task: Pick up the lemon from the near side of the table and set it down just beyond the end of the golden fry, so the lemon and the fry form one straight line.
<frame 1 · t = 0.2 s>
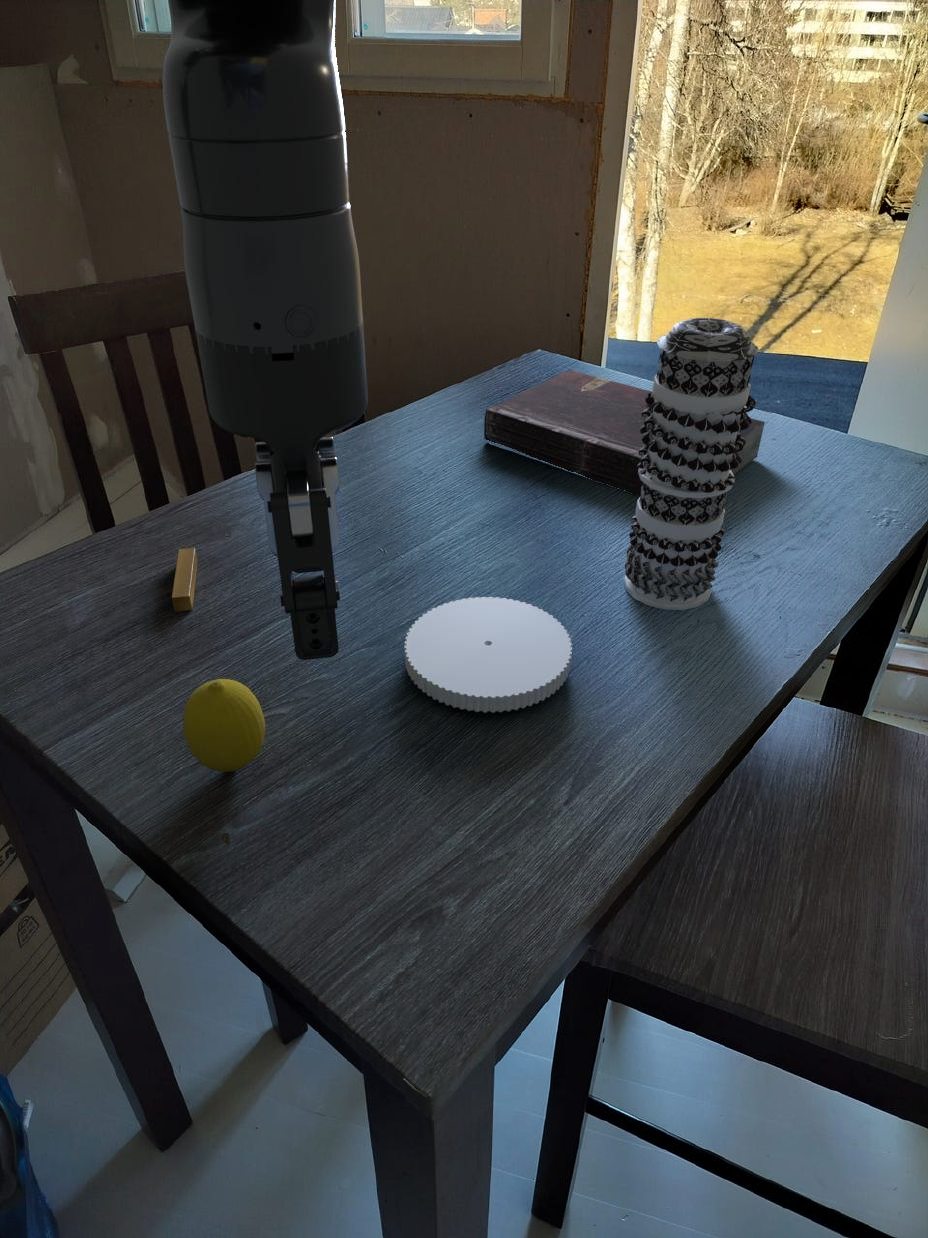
hand: (313, 609, 48), 18 cm above the table, tool pointing down, fingers open, 8 cm apart
hardback book: (617, 453, 109), on the table
lemon: (234, 768, 63), on the table
fry: (186, 585, 83), on the table
white gear wheel: (487, 668, 73), on the table
decorative candle: (667, 587, 83), on the table
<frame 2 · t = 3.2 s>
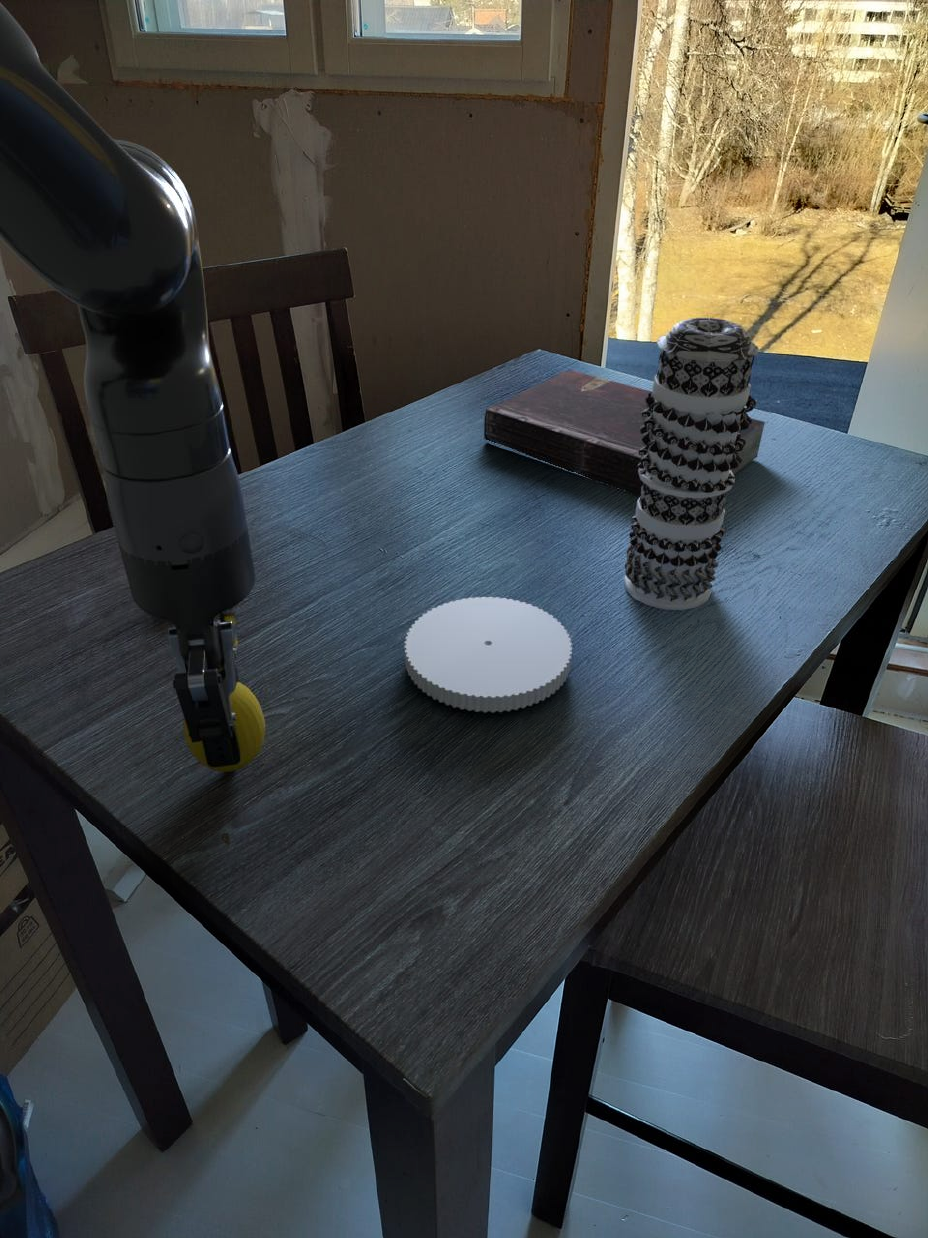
hand: (226, 731, 61), 4 cm above the table, tool pointing down, fingers closed on lemon, 5 cm apart
lemon: (234, 768, 63), on the table, touching gripper
everything else where it was.
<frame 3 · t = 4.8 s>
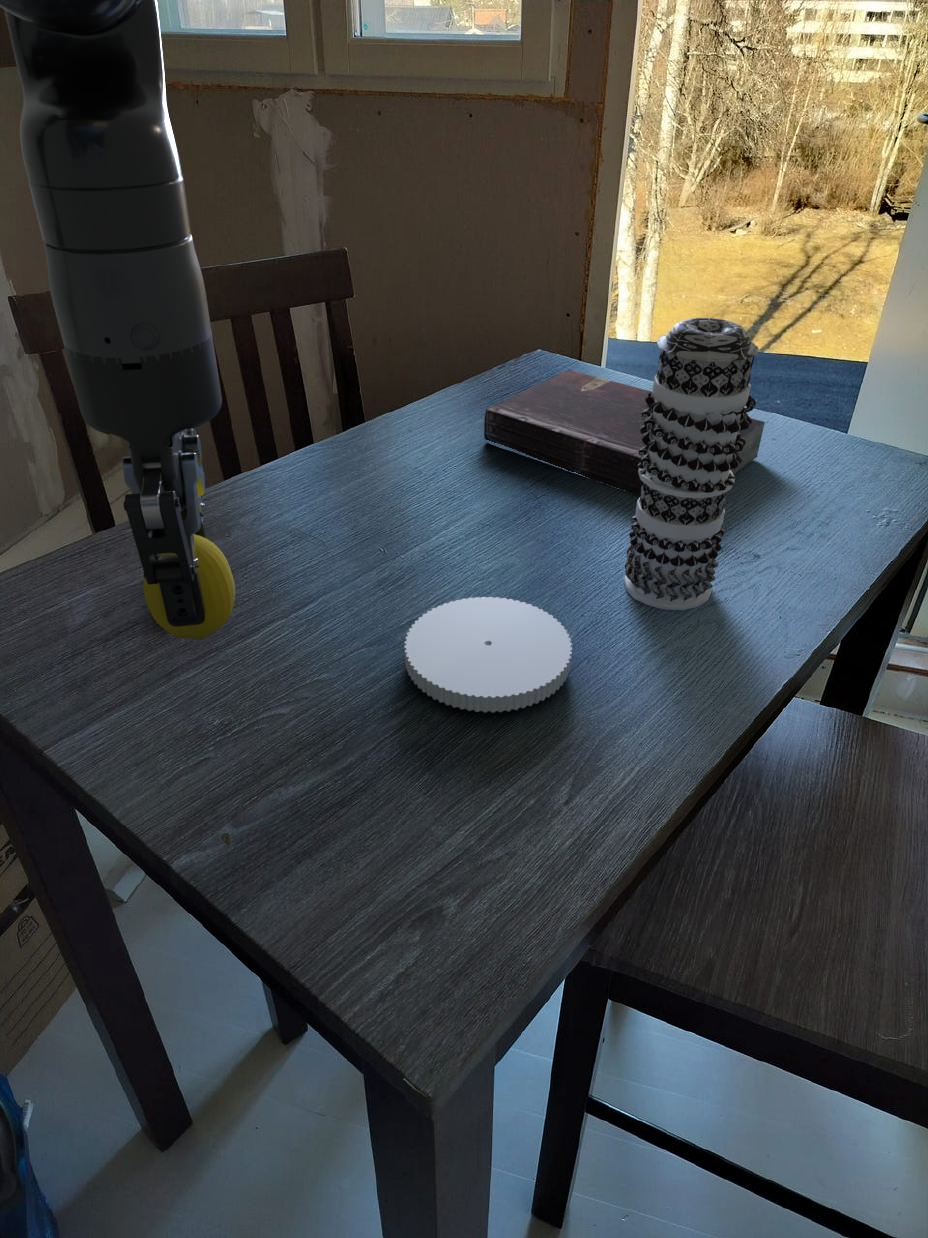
hand: (191, 594, 55), 15 cm above the table, tool pointing down, fingers closed on lemon, 5 cm apart
lemon: (200, 640, 57), point 11 cm above the table, touching gripper
everything else where it was.
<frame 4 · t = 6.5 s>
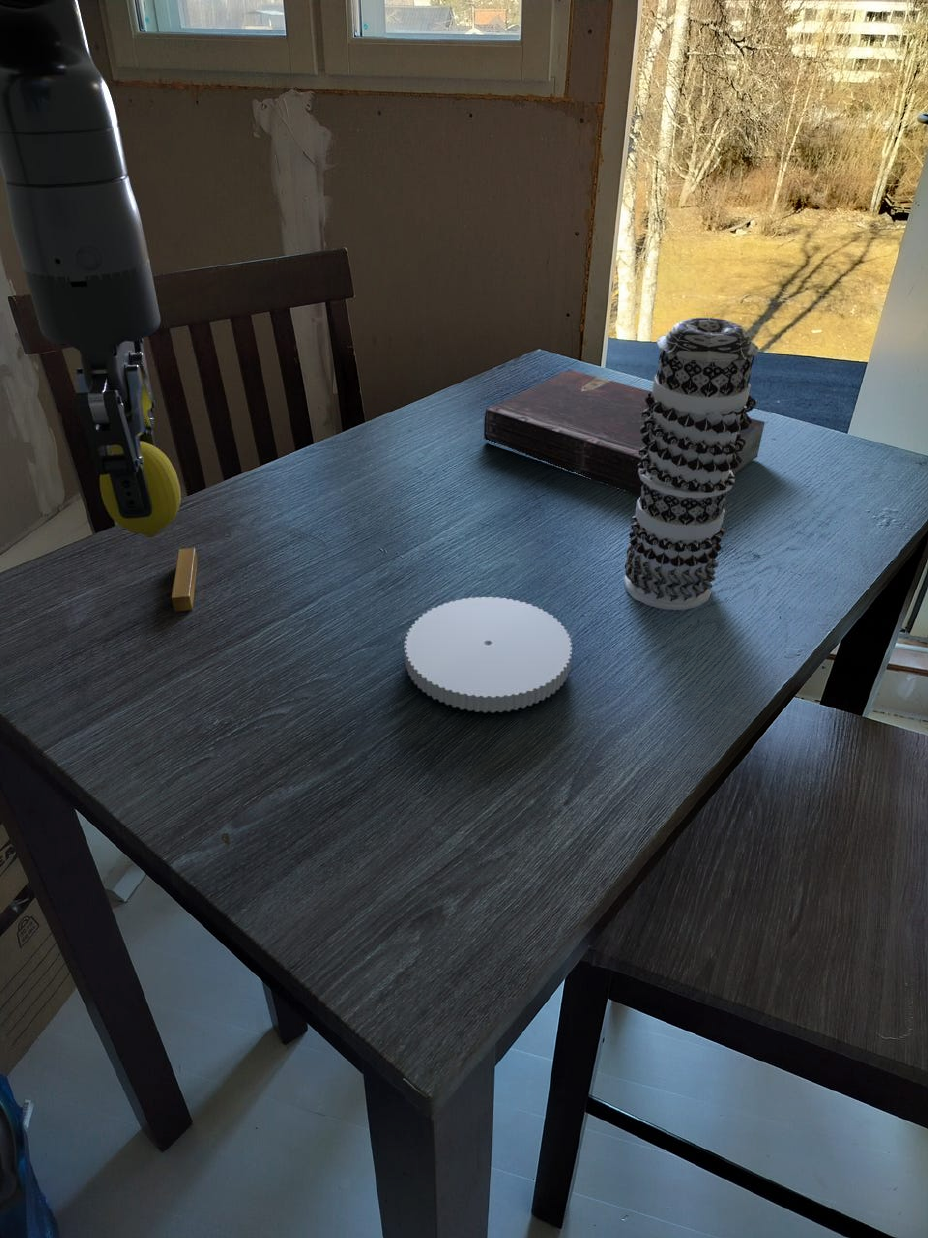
hand: (142, 495, 64), 16 cm above the table, tool pointing down, fingers closed on lemon, 5 cm apart
lemon: (152, 538, 66), point 12 cm above the table, touching gripper
everything else where it was.
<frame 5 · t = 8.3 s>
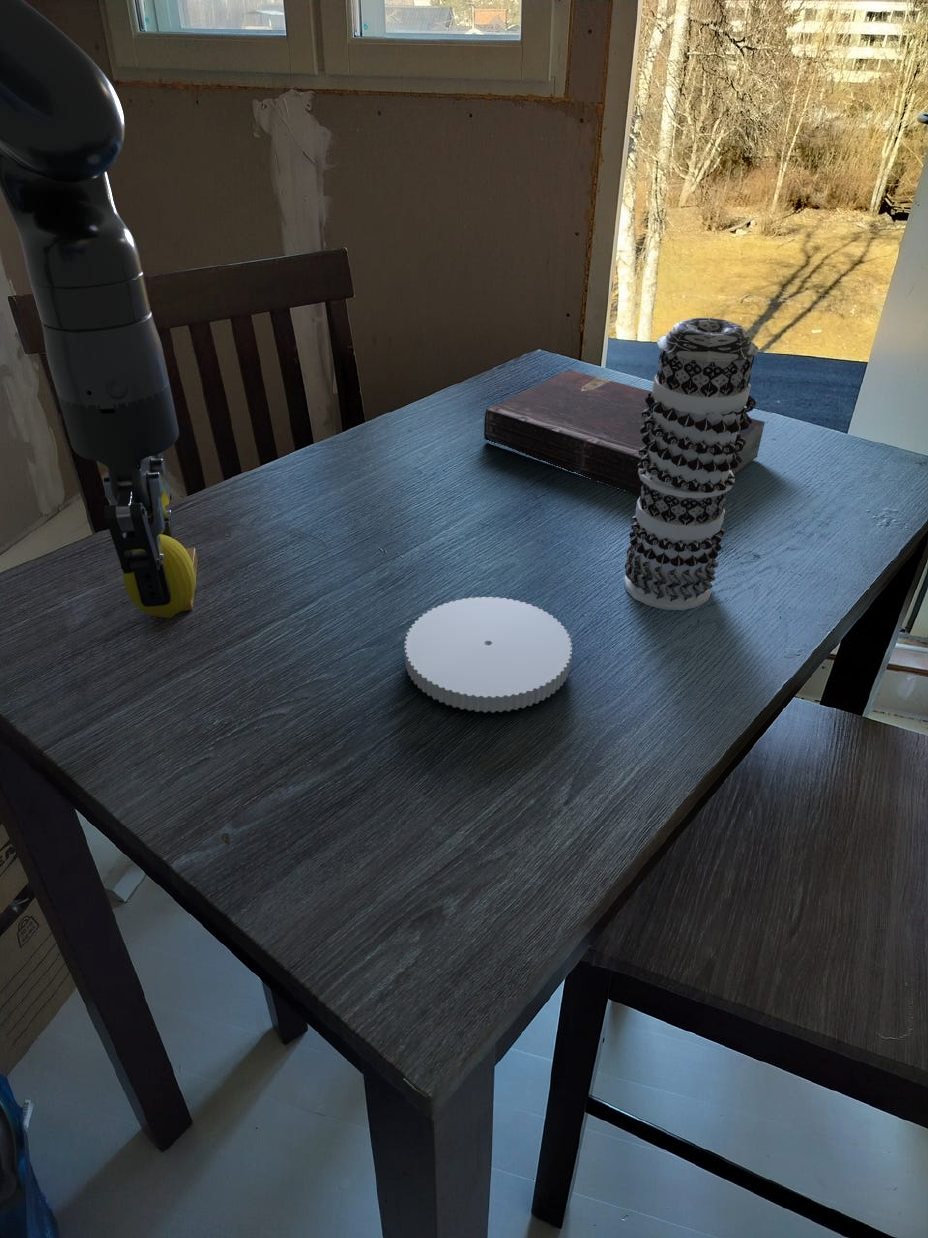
hand: (160, 582, 70), 7 cm above the table, tool pointing down, fingers closed on lemon, 5 cm apart
lemon: (170, 618, 72), point 4 cm above the table, touching gripper
everything else where it was.
when the fingers open (4 cm above the table, at t = 9.8 s): lemon stays where it is, on the table.
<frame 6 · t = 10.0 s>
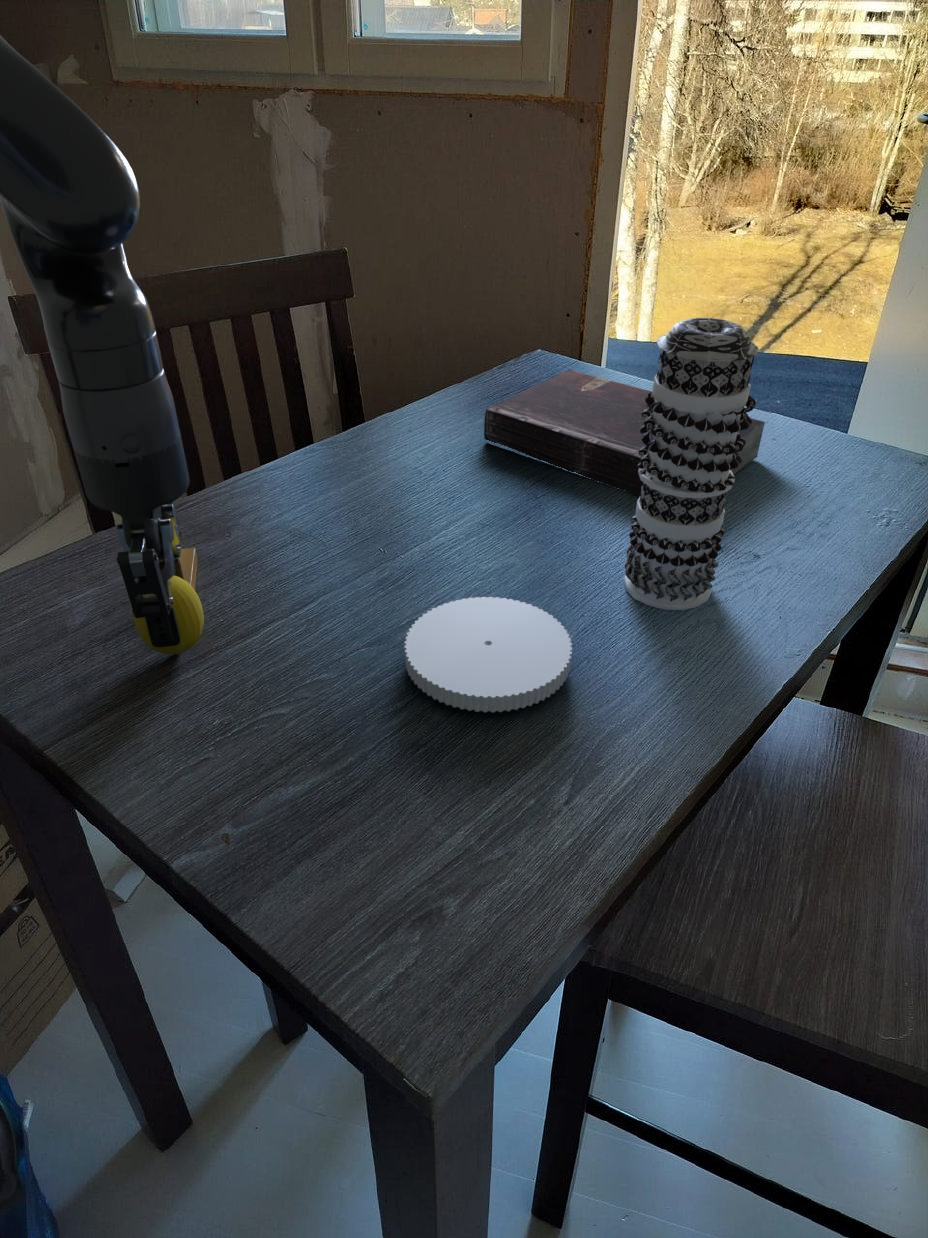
hand: (170, 619, 72), 4 cm above the table, tool pointing down, fingers open, 6 cm apart
lemon: (178, 655, 74), on the table
everything else where it was.
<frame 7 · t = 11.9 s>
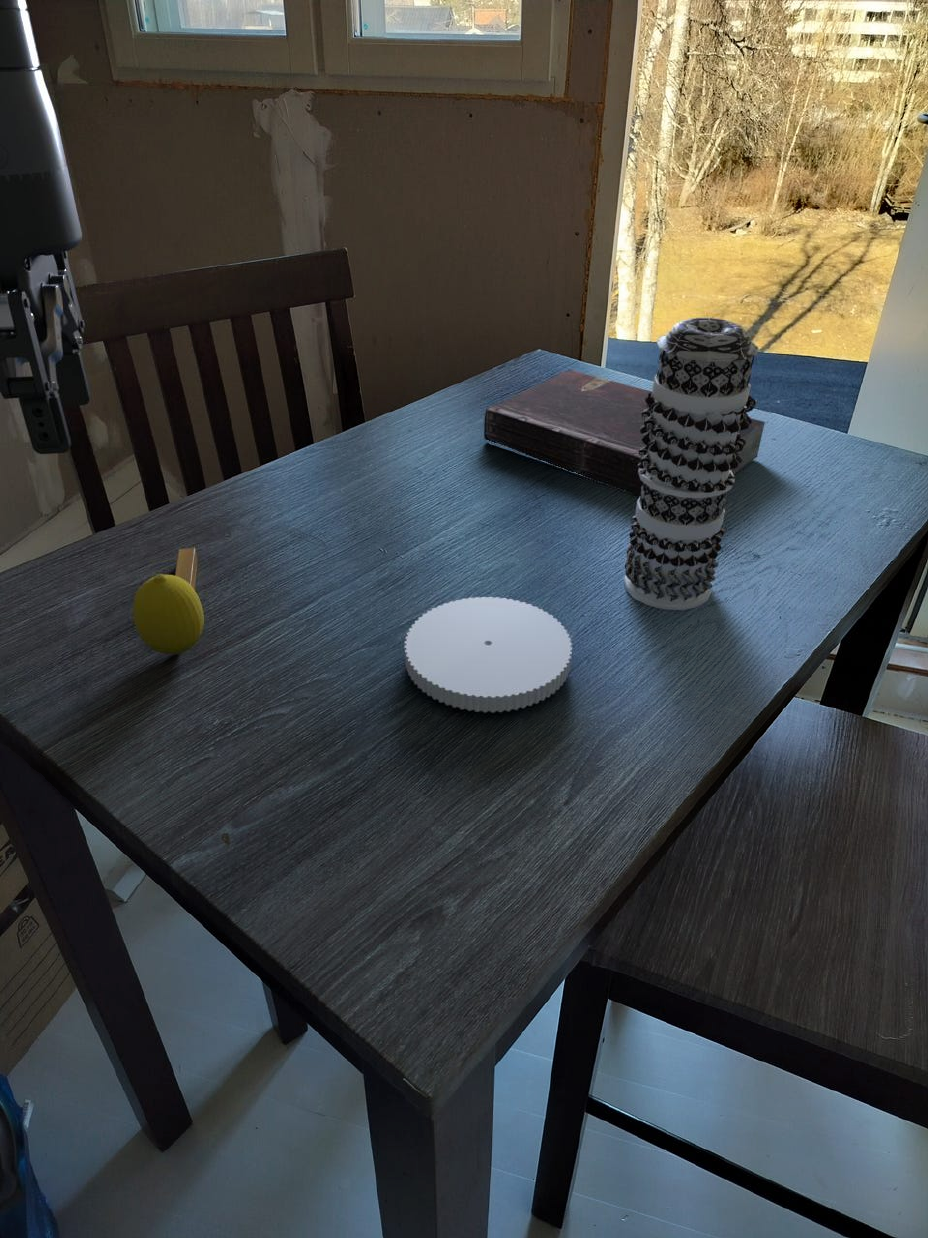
hand: (65, 426, 58), 22 cm above the table, tool pointing down, fingers open, 8 cm apart
nothing on the table moved.
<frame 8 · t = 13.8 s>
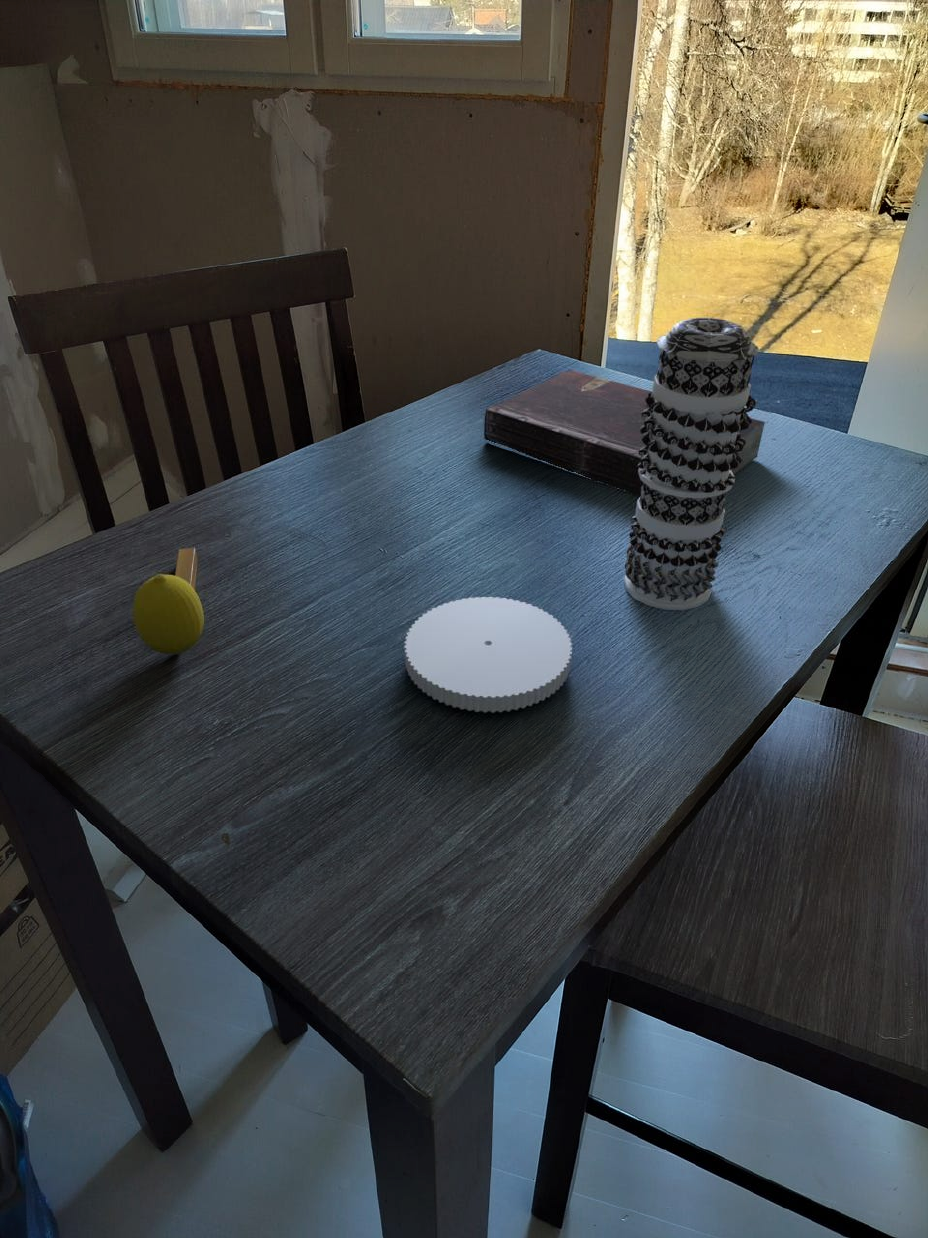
nothing on the table moved.
at the end: lemon 0.5 cm from the target spot on the table beside the fry, on the table; the gripper is holding nothing; fry moved 0.0 cm from its start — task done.
